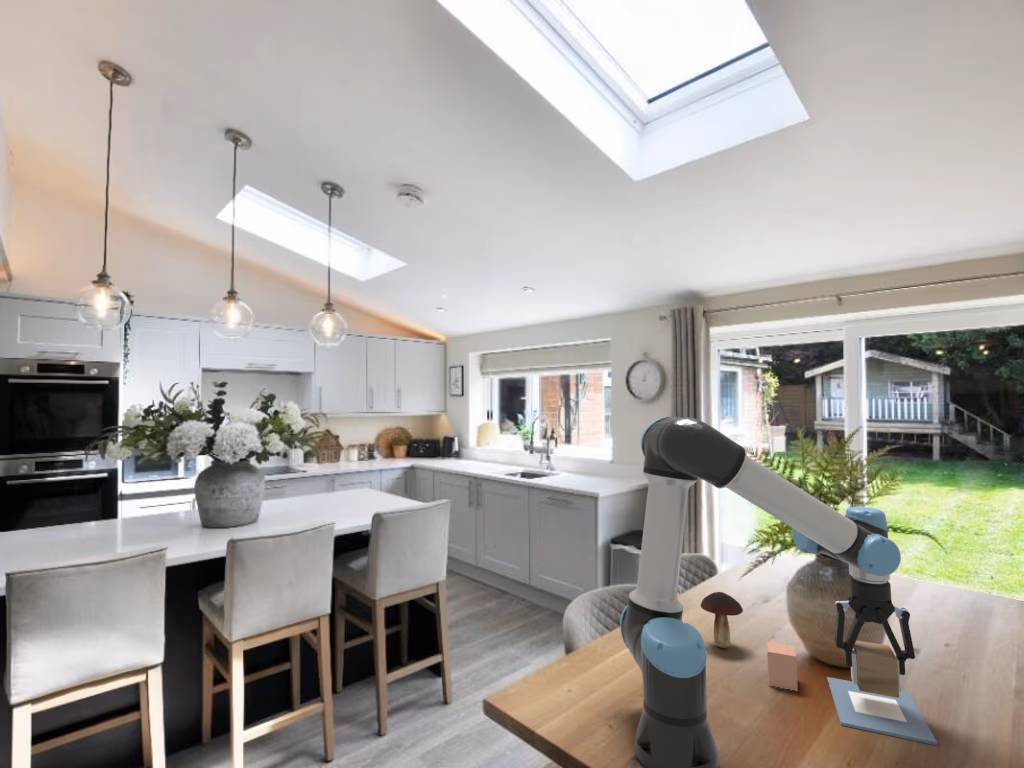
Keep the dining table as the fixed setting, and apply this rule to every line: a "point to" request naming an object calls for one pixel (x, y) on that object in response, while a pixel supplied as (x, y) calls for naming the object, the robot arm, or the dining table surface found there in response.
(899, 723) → the board
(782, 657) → the terracotta block
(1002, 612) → the dining table surface
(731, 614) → the decorative mushroom
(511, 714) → the dining table surface
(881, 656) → the walnut block
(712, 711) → the dining table surface
